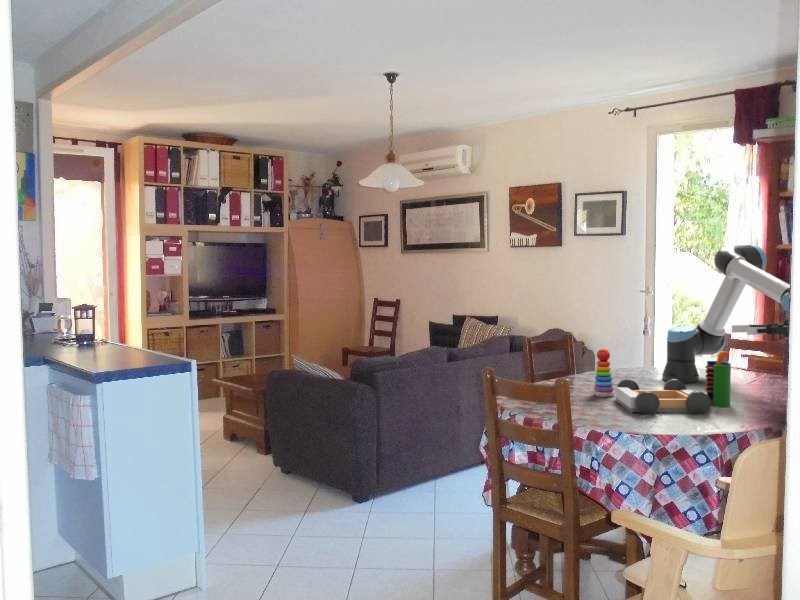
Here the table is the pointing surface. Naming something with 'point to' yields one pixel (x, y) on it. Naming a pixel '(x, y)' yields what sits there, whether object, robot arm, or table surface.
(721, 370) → the motor
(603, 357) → the stacking toy
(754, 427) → the table surface
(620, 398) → the chassis
